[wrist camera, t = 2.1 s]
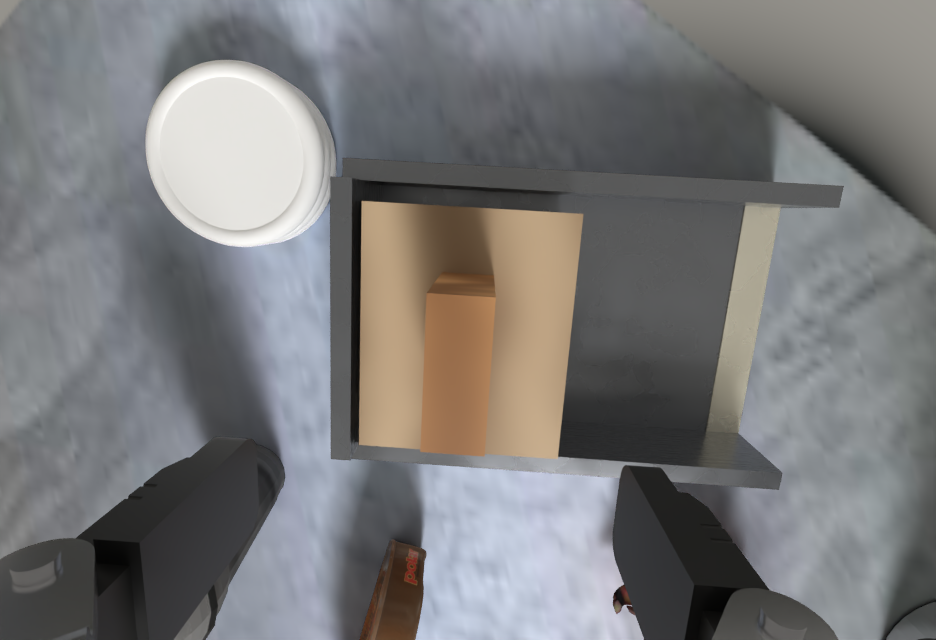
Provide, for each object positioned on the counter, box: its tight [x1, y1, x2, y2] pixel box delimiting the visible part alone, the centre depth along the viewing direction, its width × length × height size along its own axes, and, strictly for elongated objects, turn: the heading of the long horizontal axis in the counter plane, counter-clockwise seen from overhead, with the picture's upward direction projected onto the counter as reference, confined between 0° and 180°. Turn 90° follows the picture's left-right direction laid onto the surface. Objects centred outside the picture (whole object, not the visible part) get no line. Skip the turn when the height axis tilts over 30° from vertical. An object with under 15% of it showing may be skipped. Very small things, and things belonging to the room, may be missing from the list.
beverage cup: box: [174, 445, 285, 640], centre depth 25 cm, size 7×7×20 cm
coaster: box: [145, 60, 337, 247], centre depth 29 cm, size 10×10×4 cm
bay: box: [330, 158, 844, 490], centre depth 28 cm, size 24×16×8 cm, turn 87°
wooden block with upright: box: [359, 201, 583, 459], centre depth 24 cm, size 10×12×13 cm
